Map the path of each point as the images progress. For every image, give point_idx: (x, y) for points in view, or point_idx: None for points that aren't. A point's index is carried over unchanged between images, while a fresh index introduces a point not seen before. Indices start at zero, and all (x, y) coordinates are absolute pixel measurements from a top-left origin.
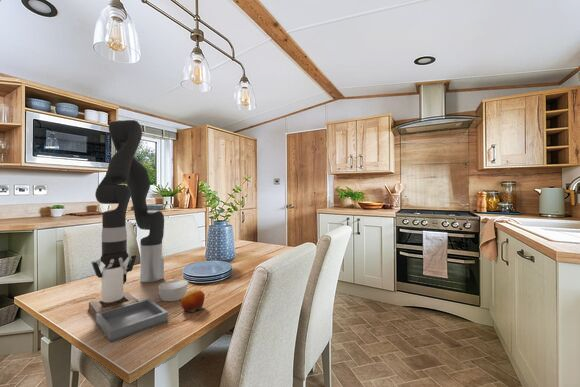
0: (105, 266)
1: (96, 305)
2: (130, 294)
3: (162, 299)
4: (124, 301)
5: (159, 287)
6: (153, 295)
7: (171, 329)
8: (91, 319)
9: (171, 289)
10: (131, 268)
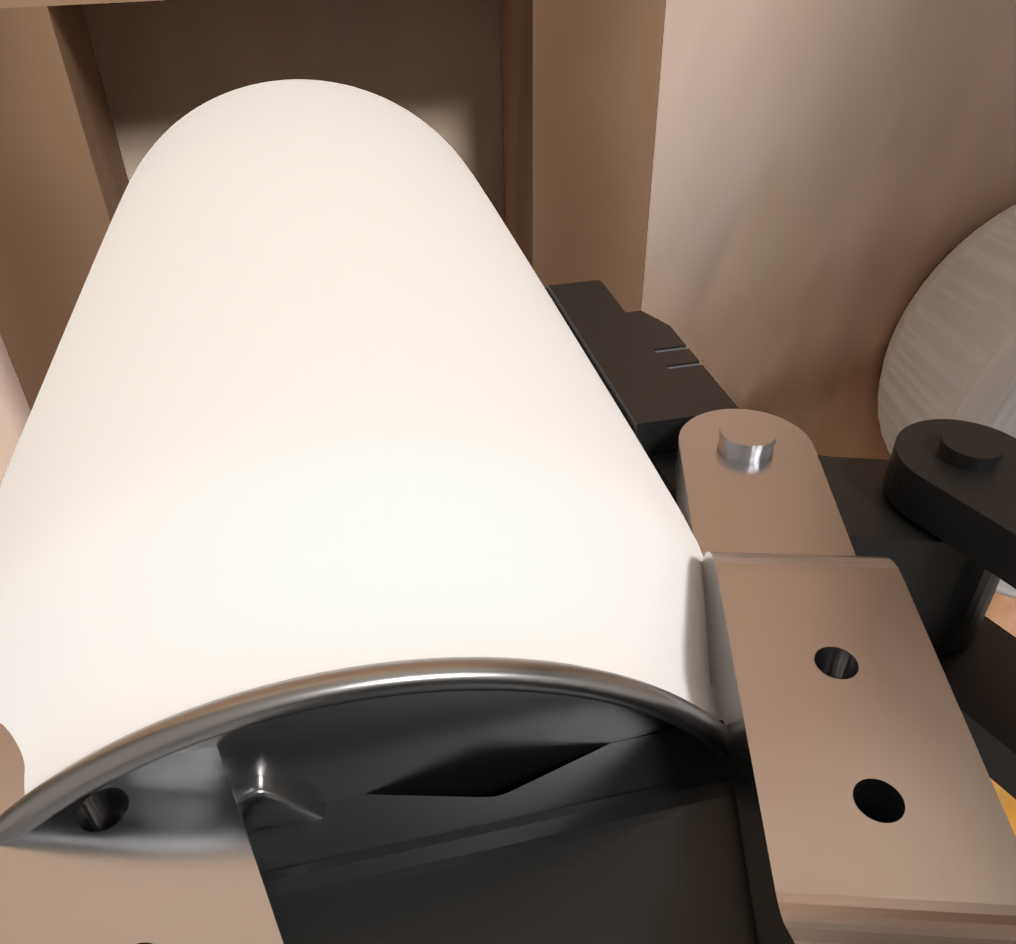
0: (28, 902)
1: (28, 217)
2: (656, 59)
3: (878, 403)
4: (510, 99)
5: None
6: (945, 66)
7: None
8: (12, 395)
9: (999, 593)
10: (951, 660)
